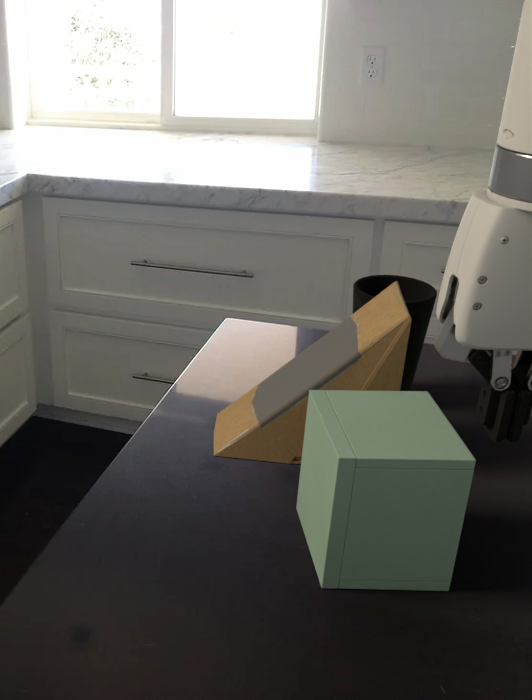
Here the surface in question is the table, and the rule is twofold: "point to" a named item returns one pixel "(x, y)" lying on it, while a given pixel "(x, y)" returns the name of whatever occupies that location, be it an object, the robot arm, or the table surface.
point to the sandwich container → (317, 381)
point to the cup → (418, 304)
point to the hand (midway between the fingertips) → (498, 431)
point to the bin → (382, 490)
